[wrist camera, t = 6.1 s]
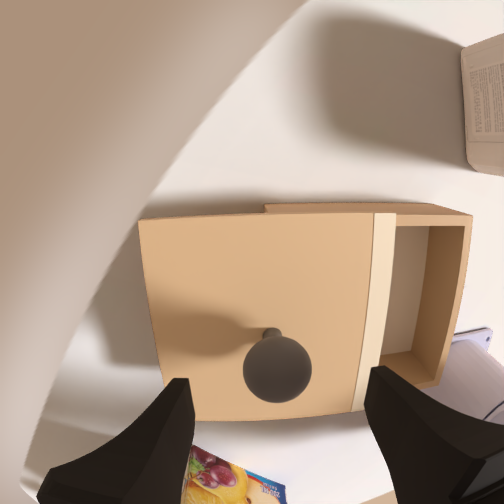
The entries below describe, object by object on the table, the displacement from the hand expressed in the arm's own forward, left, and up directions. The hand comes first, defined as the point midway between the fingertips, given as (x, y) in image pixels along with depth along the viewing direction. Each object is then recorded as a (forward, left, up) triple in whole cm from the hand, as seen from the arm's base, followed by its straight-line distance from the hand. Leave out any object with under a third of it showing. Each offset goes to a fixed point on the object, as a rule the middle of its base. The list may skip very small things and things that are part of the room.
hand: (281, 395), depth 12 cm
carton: (0, -6, -10) cm, 12 cm away
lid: (0, 0, -5) cm, 5 cm away
